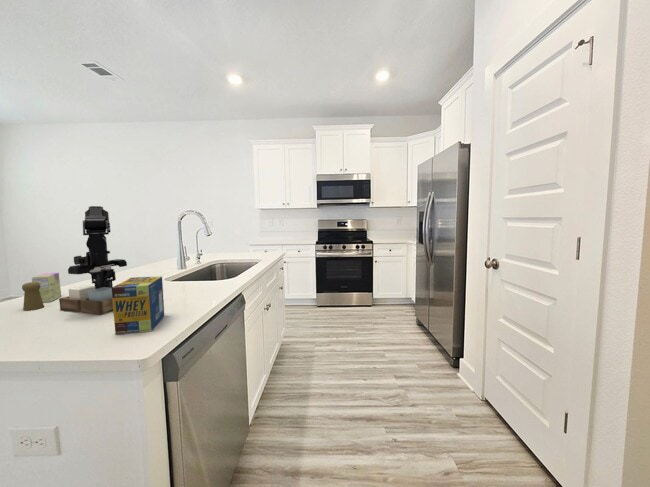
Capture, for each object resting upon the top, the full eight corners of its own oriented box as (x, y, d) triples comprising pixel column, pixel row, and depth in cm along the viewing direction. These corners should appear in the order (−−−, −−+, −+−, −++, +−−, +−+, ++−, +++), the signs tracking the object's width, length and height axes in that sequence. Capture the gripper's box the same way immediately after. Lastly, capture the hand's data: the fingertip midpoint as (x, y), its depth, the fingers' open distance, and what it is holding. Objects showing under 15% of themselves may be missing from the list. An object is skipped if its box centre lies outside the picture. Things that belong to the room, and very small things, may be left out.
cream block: (85, 294, 118) (84, 285, 118) (95, 295, 116) (95, 286, 116) (69, 298, 112) (68, 289, 112) (79, 299, 111) (79, 290, 110)
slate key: (104, 296, 115) (103, 287, 115) (115, 297, 113) (114, 288, 113) (89, 300, 109) (88, 290, 109) (100, 301, 108) (99, 291, 107)
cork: (30, 311, 111) (27, 284, 110) (19, 310, 112) (15, 284, 111) (48, 306, 117) (45, 281, 116) (37, 305, 118) (34, 280, 117)
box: (45, 297, 130) (43, 273, 129) (61, 296, 132) (59, 272, 131) (34, 304, 120) (31, 277, 119) (51, 302, 123) (48, 276, 122)
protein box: (114, 335, 87) (110, 287, 86) (134, 318, 102) (130, 277, 101) (151, 331, 90) (148, 285, 89) (165, 315, 105) (162, 275, 103)
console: (87, 303, 121) (86, 291, 121) (125, 307, 115) (124, 295, 115) (60, 310, 111) (59, 298, 111) (100, 315, 106) (99, 302, 105)
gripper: (107, 246, 121) (109, 280, 122) (55, 251, 103) (59, 292, 104) (126, 246, 118) (129, 282, 119) (77, 252, 100) (81, 294, 101)
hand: (101, 287), depth 111 cm, fingers closed
